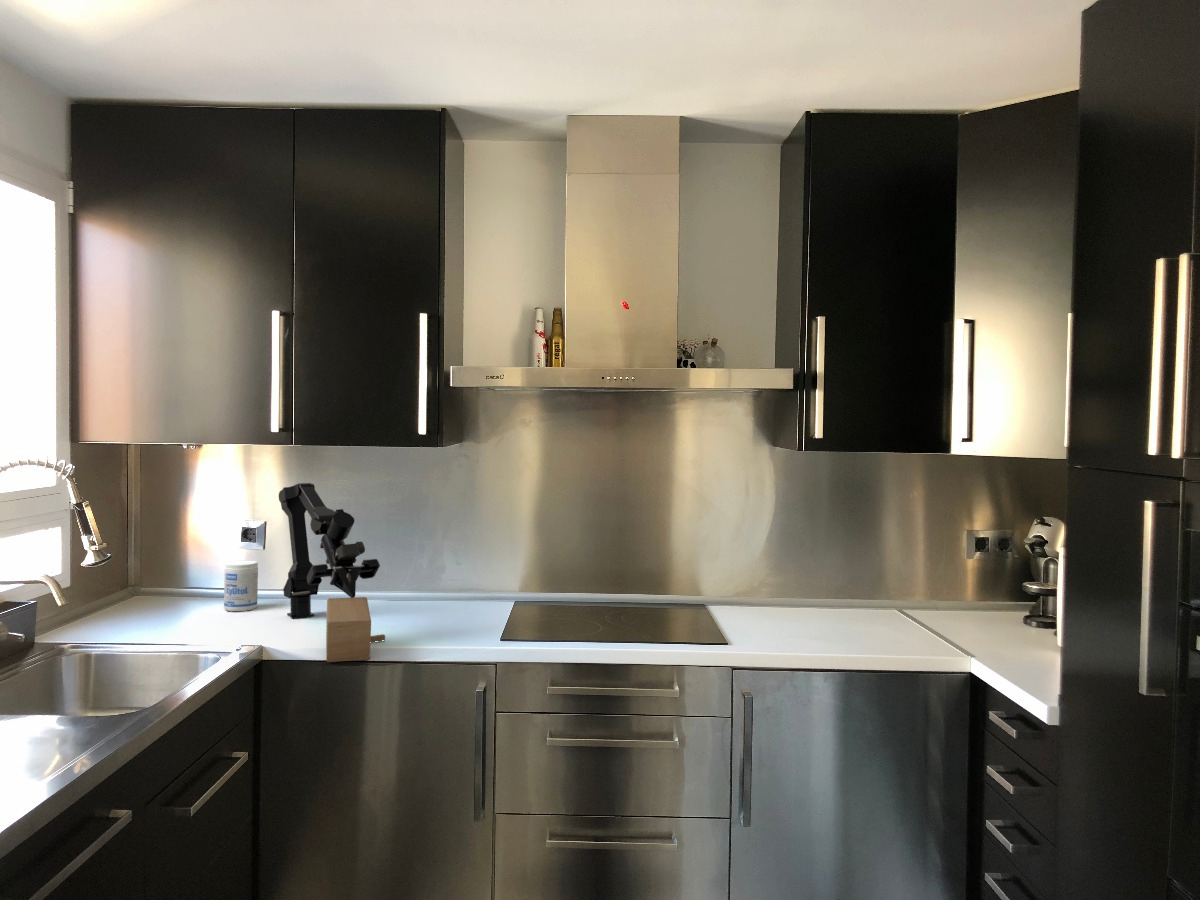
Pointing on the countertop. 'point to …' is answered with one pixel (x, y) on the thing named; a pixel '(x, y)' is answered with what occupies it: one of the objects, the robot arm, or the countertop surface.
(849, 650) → the countertop surface
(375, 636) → the oak batten
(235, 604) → the supplement tub
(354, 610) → the wooden block
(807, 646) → the countertop surface
